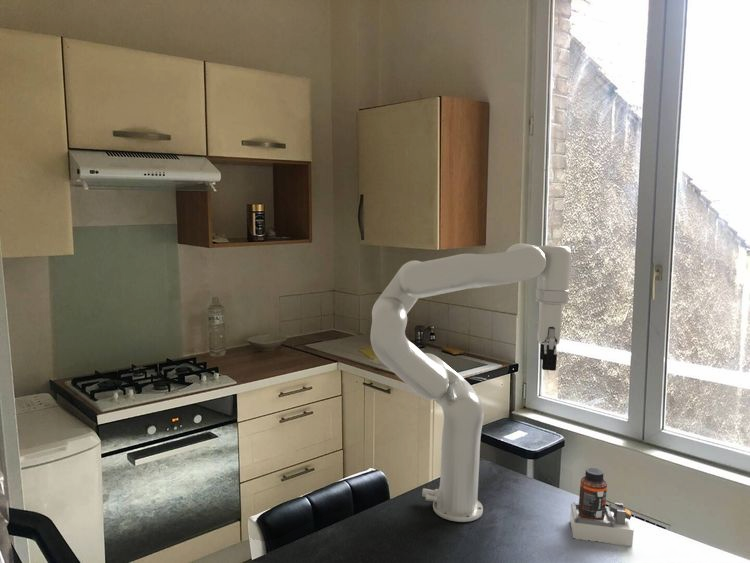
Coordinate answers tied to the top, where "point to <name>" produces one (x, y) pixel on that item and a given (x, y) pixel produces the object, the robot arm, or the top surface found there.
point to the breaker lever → (614, 509)
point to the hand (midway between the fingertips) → (547, 364)
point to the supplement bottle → (592, 494)
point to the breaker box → (602, 527)
